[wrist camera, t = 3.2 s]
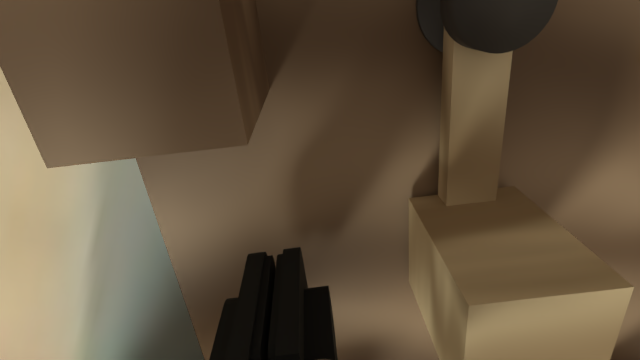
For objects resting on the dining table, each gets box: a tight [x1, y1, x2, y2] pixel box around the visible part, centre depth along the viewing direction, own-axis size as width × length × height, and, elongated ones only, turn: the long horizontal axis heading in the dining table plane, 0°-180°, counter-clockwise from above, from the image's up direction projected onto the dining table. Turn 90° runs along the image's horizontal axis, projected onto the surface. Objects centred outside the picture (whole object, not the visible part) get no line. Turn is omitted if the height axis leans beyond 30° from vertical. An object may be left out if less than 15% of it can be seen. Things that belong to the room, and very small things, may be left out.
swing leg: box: [409, 0, 634, 360], centre depth 10 cm, size 11×4×5 cm, turn 6°
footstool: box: [0, 0, 640, 360], centre depth 13 cm, size 24×21×7 cm
